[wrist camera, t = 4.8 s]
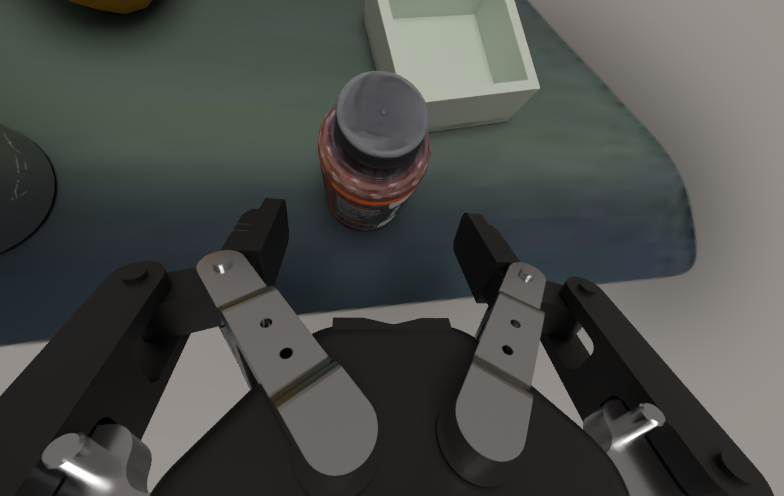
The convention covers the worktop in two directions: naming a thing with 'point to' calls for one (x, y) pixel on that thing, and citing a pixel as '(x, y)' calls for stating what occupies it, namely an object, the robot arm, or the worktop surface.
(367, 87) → the supplement bottle
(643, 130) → the worktop surface
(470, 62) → the box
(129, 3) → the apple
